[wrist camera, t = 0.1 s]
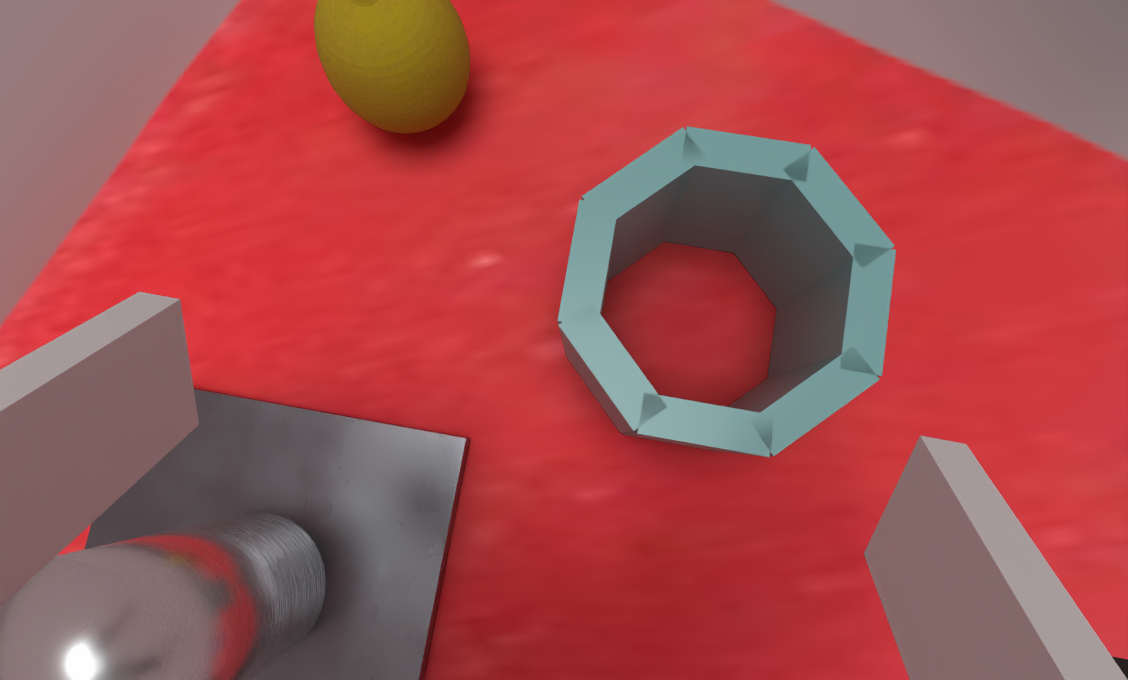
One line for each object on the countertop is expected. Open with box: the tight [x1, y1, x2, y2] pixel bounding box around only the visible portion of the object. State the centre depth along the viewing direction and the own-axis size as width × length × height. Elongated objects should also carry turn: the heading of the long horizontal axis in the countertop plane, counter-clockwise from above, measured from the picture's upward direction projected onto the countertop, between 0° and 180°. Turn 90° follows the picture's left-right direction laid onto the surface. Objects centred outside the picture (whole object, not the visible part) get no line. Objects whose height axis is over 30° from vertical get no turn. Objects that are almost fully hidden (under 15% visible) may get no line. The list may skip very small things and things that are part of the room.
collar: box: [558, 127, 896, 457], centre depth 24 cm, size 10×10×8 cm
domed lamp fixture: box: [0, 388, 470, 680], centre depth 21 cm, size 14×14×11 cm
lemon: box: [314, 0, 470, 134], centre depth 25 cm, size 6×6×8 cm
